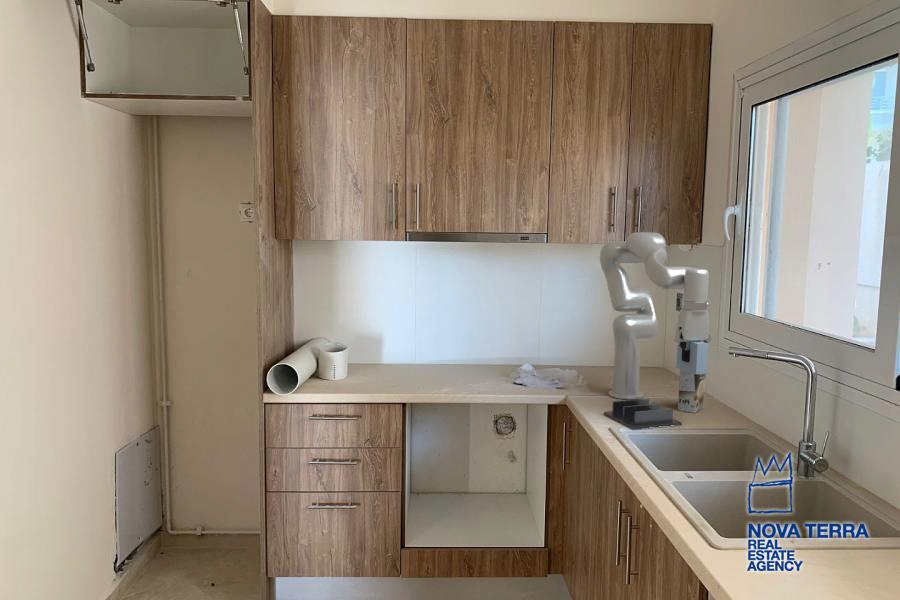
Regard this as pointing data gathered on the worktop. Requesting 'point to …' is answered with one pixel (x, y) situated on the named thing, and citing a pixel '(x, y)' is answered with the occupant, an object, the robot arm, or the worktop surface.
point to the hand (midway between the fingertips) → (691, 360)
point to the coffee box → (691, 391)
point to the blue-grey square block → (694, 358)
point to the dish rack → (641, 414)
